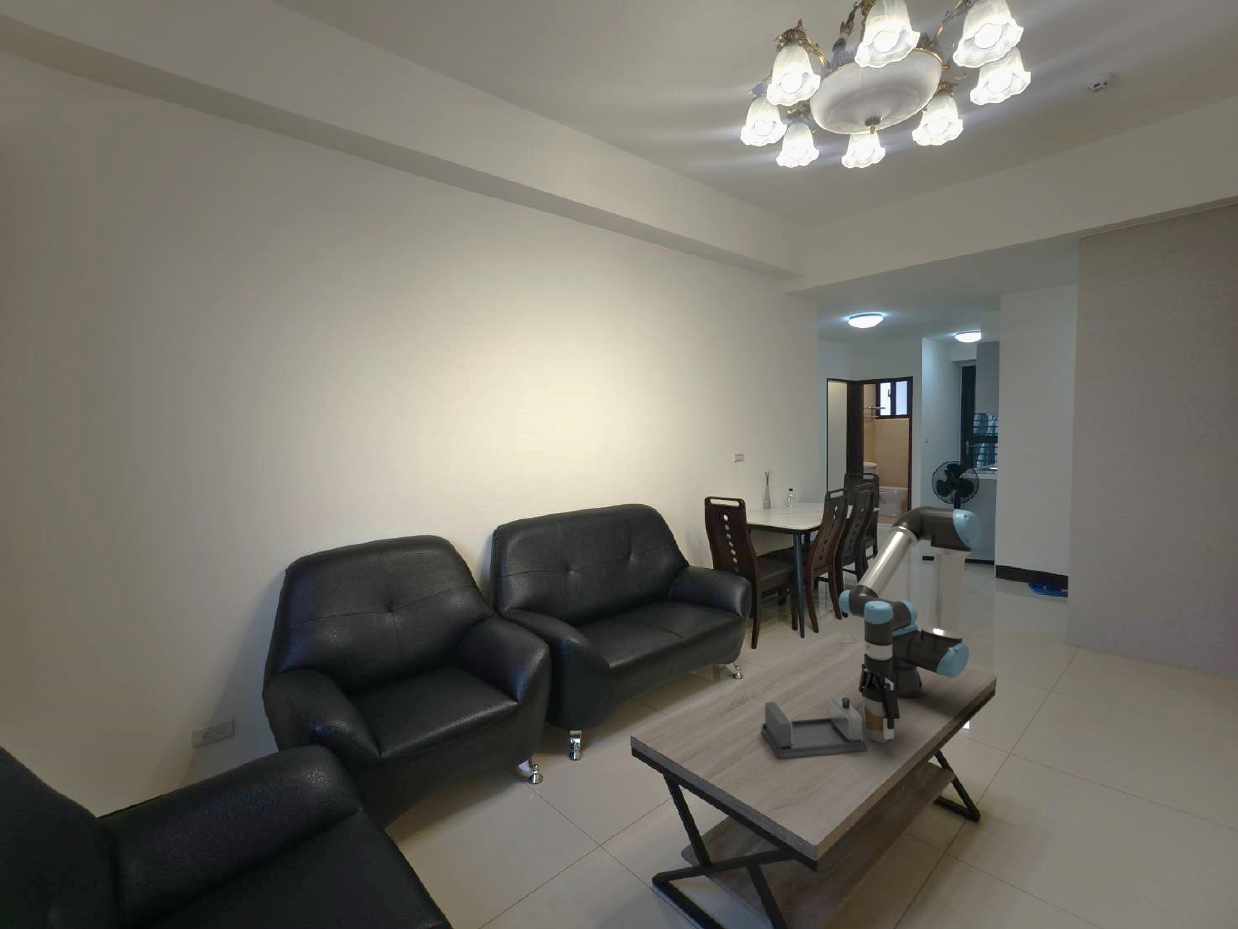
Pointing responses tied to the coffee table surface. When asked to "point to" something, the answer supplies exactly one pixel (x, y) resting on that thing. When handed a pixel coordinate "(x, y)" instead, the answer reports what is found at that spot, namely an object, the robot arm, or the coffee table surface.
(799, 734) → the base
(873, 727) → the coffee cup
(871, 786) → the coffee table surface
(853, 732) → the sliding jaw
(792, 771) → the coffee table surface
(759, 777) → the coffee table surface
